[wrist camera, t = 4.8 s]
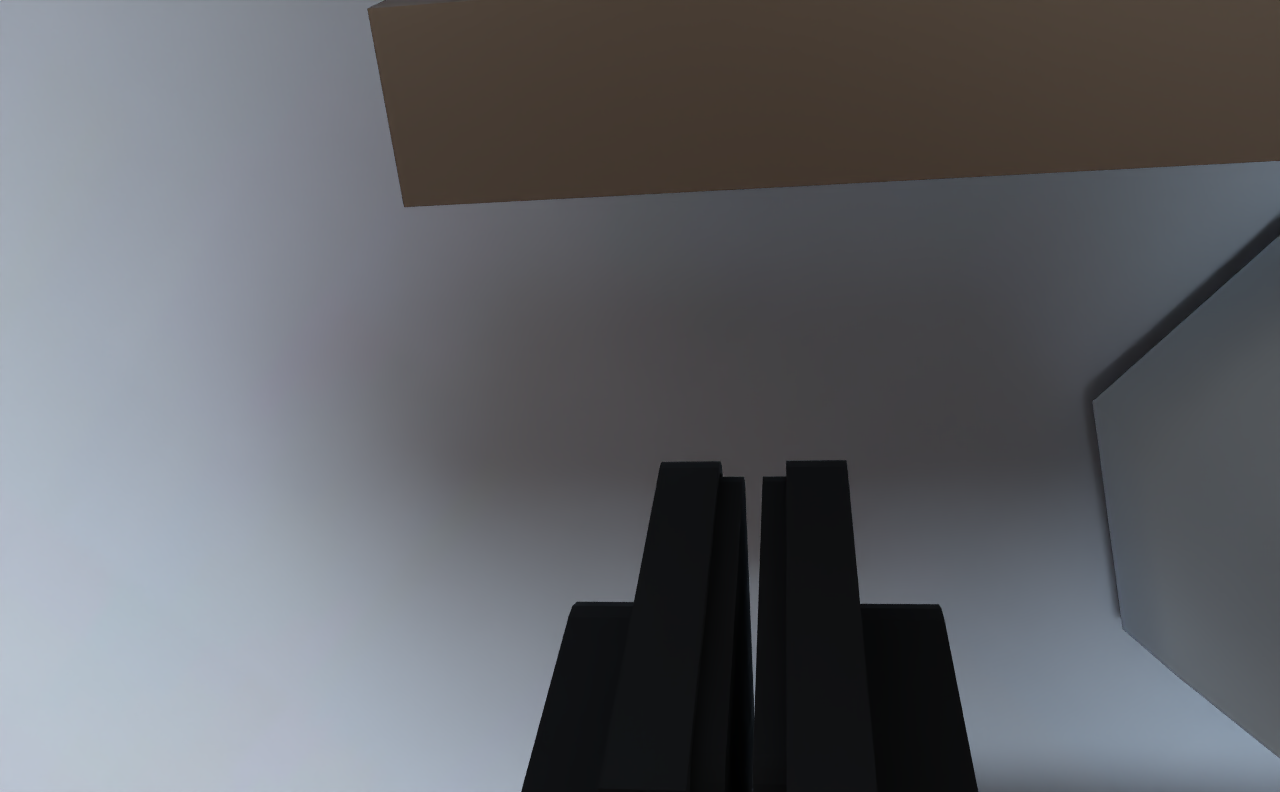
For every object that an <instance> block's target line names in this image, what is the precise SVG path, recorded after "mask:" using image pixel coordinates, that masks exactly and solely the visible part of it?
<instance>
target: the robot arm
mask: <svg viewBox="0 0 1280 792" xmlns="http://www.w3.org/2000/svg"><path fill="white" fill-rule="evenodd" d="M521 792H978V788H977V783H976V778H975V773H974V768H973V763H972V758H971V753H970V747H969V742H968V737H967V732H966V727H965V722H964V717H963V712H962V707H961V702H960V697H959V691H958V686H957V681H956V676H955V671H954V666H953V661H952V656H951V651H950V646H949V640H948V635H947V630H946V625H945V620H944V616H943V612H942V609H941V607H940V606H939V604H860V598H859V588H858V577H857V566H856V555H855V545H854V534H853V523H852V513H851V502H850V491H849V481H848V470H847V461H846V460H820V461H786V476H785V477H763V485H762V514H761V543H760V572H759V601H758V630H757V658H756V687H755V716H754V693H753V668H752V644H751V619H750V594H749V570H748V545H747V521H746V496H745V480H744V477H723V474H722V465H721V461H711V462H662V463H661V465H660V469H659V475H658V480H657V485H656V490H655V495H654V501H653V506H652V511H651V516H650V521H649V527H648V532H647V537H646V542H645V547H644V553H643V558H642V563H641V568H640V573H639V579H638V584H637V589H636V594H635V599H634V602H576V603H575V604H574V605H573V606H572V609H571V612H570V614H569V617H568V621H567V624H566V628H565V632H564V635H563V639H562V643H561V647H560V650H559V654H558V658H557V661H556V665H555V669H554V672H553V676H552V680H551V684H550V687H549V691H548V695H547V698H546V702H545V706H544V710H543V713H542V717H541V721H540V724H539V728H538V732H537V735H536V739H535V743H534V747H533V750H532V754H531V758H530V761H529V765H528V769H527V772H526V776H525V780H524V784H523V787H522V791H521Z"/></svg>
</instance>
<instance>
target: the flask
mask: <svg viewBox="0 0 1280 792" xmlns="http://www.w3.org/2000/svg"><path fill="white" fill-rule="evenodd" d="M1093 409H1094V416H1095V424H1096V431H1097V439H1098V447H1099V454H1100V462H1101V469H1102V477H1103V484H1104V492H1105V499H1106V507H1107V514H1108V522H1109V529H1110V537H1111V544H1112V552H1113V560H1114V567H1115V575H1116V582H1117V590H1118V597H1119V605H1120V612H1121V620H1122V627H1123V630H1125V631H1126V632H1127V633H1128V634H1129V635H1130V636H1132V637H1133V638H1134V639H1135V640H1136V641H1137V642H1138V643H1140V644H1141V645H1142V646H1143V647H1144V648H1145V649H1147V650H1148V651H1149V652H1150V653H1151V654H1152V655H1153V656H1155V657H1156V658H1157V659H1158V660H1159V661H1160V662H1162V663H1163V664H1164V665H1165V666H1166V667H1167V668H1169V669H1170V670H1171V671H1172V672H1173V673H1174V674H1175V675H1177V676H1178V677H1179V678H1180V679H1182V680H1183V681H1184V682H1185V683H1187V684H1188V685H1189V686H1190V687H1192V688H1193V689H1194V690H1195V691H1196V692H1198V693H1199V694H1200V695H1201V696H1203V697H1204V698H1205V699H1206V700H1208V701H1209V702H1210V703H1211V704H1213V705H1214V706H1215V707H1216V708H1218V709H1219V710H1220V711H1221V712H1223V713H1224V714H1225V715H1226V716H1228V717H1229V718H1230V719H1231V720H1233V721H1234V722H1235V723H1236V724H1238V725H1239V726H1240V727H1241V728H1243V729H1244V730H1245V731H1246V732H1248V733H1249V734H1250V735H1251V736H1253V737H1254V738H1255V739H1256V740H1258V741H1259V742H1260V743H1261V744H1262V745H1264V746H1265V747H1266V748H1267V749H1269V750H1270V751H1271V752H1272V753H1274V754H1275V755H1276V756H1277V757H1279V758H1280V235H1279V236H1278V237H1277V238H1276V239H1275V240H1274V241H1273V242H1271V243H1270V244H1269V245H1268V246H1267V247H1266V248H1265V249H1264V250H1262V251H1261V252H1260V253H1259V254H1258V255H1257V256H1256V257H1255V258H1253V259H1252V260H1251V261H1250V262H1249V263H1248V264H1247V265H1246V266H1244V267H1243V268H1242V269H1241V270H1240V271H1239V272H1238V273H1237V274H1235V275H1234V276H1233V277H1232V278H1231V279H1230V280H1229V281H1228V282H1226V283H1225V284H1224V285H1223V286H1222V287H1221V288H1220V289H1219V290H1217V291H1216V292H1215V293H1214V294H1213V295H1212V296H1211V297H1210V298H1208V299H1207V300H1206V301H1205V302H1204V303H1203V304H1202V305H1201V306H1199V307H1198V308H1197V309H1196V310H1195V311H1194V312H1193V313H1192V314H1190V315H1189V316H1188V317H1187V318H1186V319H1185V320H1184V321H1183V322H1181V323H1180V324H1179V325H1178V326H1177V327H1176V328H1175V329H1174V330H1172V331H1171V332H1170V333H1169V334H1168V335H1167V336H1166V337H1165V338H1163V339H1162V340H1161V341H1160V342H1159V343H1158V344H1157V345H1156V346H1154V347H1153V348H1152V349H1151V350H1150V351H1149V352H1148V353H1147V354H1145V355H1144V356H1143V357H1142V358H1141V359H1140V360H1139V361H1138V362H1136V363H1135V364H1134V365H1133V366H1132V367H1131V368H1130V369H1129V370H1127V371H1126V372H1125V373H1124V374H1123V375H1122V376H1121V377H1120V378H1118V379H1117V380H1116V381H1115V382H1114V383H1113V384H1112V385H1111V386H1109V387H1108V388H1107V389H1106V390H1105V391H1104V392H1103V393H1102V394H1100V395H1099V396H1098V397H1097V398H1096V399H1095V400H1094V401H1093Z"/></svg>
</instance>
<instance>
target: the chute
mask: <svg viewBox="0 0 1280 792" xmlns="http://www.w3.org/2000/svg"><path fill="white" fill-rule="evenodd" d="M367 10H368V15H369V20H370V26H371V31H372V37H373V42H374V47H375V53H376V58H377V64H378V69H379V74H380V80H381V85H382V91H383V96H384V101H385V107H386V112H387V118H388V123H389V128H390V134H391V139H392V145H393V150H394V156H395V161H396V166H397V172H398V177H399V183H400V188H401V193H402V199H403V204H404V207H415V206H434V205H453V204H472V203H491V202H510V201H528V200H547V199H566V198H585V197H604V196H623V195H642V194H661V193H680V192H698V191H717V190H736V189H755V188H774V187H793V186H812V185H831V184H849V183H868V182H887V181H906V180H925V179H944V178H963V177H982V176H1000V175H1019V174H1038V173H1057V172H1076V171H1095V170H1114V169H1133V168H1151V167H1170V166H1189V165H1208V164H1227V163H1246V162H1265V161H1280V0H385V1H383V2H381V3H378V4H376V5H374V6H372V7H370V8H368V9H367Z"/></svg>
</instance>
